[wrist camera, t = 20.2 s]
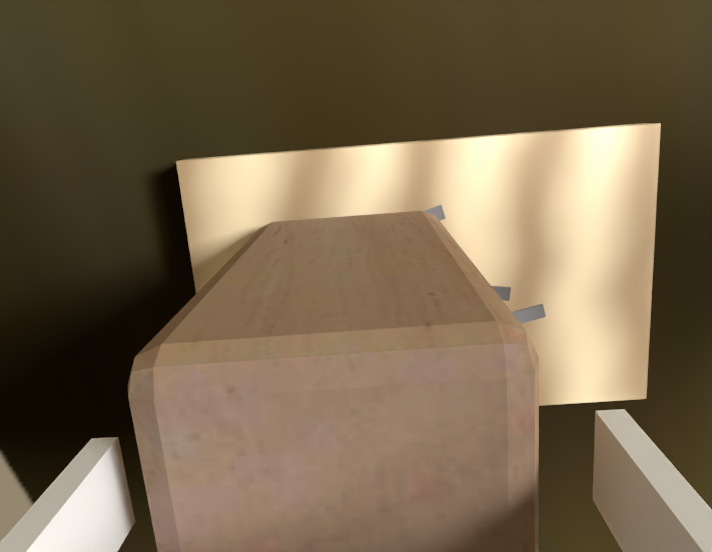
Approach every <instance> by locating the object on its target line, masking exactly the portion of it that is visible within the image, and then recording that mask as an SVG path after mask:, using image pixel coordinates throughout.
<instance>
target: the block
mask: <svg viewBox="0 0 712 552" xmlns="http://www.w3.org/2000/svg"><path fill="white" fill-rule="evenodd" d="M128 398H129V404H130V409H131V414H132V419H133V425H134V430H135V435H136V440H137V446H138V451H139V456H140V461H141V466H142V472H143V477H144V482H145V487H146V493H147V498H148V503H149V508H150V514H151V519H152V524H153V529H154V535H155V540H156V545H157V550H158V552H538V550H539V357H538V355H537V352H536V350H535V348H534V346H533V344H532V342H531V339H530V337H529V335H528V333H527V331H526V329H525V328H524V327H523V326H522V324H521V323H520V322H519V321H518V319H517V318H516V317H515V315H514V314H513V313H512V312H511V310H510V309H509V308H508V307H507V305H506V304H505V303H504V302H503V300H502V299H501V298H500V297H499V295H498V294H497V293H496V291H495V290H494V289H493V288H492V286H491V285H490V284H489V283H488V281H487V280H486V279H485V278H484V276H483V275H482V274H481V273H480V271H479V270H478V269H477V267H476V266H475V265H474V264H473V262H472V261H471V260H470V259H469V257H468V256H467V255H466V254H465V252H464V251H463V250H462V249H461V247H460V246H459V245H458V244H457V242H456V241H455V240H454V238H453V237H452V236H451V235H450V233H449V232H448V231H447V230H446V228H445V227H444V226H443V225H442V223H441V222H440V221H439V220H438V218H437V217H436V216H435V215H433V214H430V213H427V212H424V211H410V212H397V213H384V214H370V215H357V216H344V217H330V218H317V219H303V220H290V221H277V222H271V223H269V224H267V225H265V226H263V227H261V228H260V229H259V230H258V231H257V232H256V233H255V234H254V235H253V236H252V237H251V238H250V239H249V240H248V241H247V242H246V243H245V244H244V245H243V246H242V247H241V248H240V249H239V250H238V251H237V252H236V254H235V255H234V256H233V257H232V258H231V259H230V260H229V261H228V262H227V263H226V264H225V265H224V266H223V267H222V268H221V269H220V270H219V271H218V272H217V273H216V274H215V275H214V276H213V277H212V278H211V279H210V280H209V281H208V282H207V283H206V284H205V285H204V286H203V287H202V289H201V290H200V291H199V292H198V293H197V294H196V295H195V296H194V297H193V298H192V299H191V300H190V301H189V302H188V303H187V304H186V305H185V306H184V307H183V308H182V309H181V310H180V311H179V312H178V313H177V314H176V315H175V316H174V317H173V318H172V319H171V320H170V321H169V322H168V323H167V325H166V326H165V327H164V328H163V329H162V330H161V331H160V332H159V333H158V334H157V335H156V336H155V337H154V338H153V339H152V340H151V341H150V342H149V343H148V344H147V345H146V346H145V347H144V348H143V349H142V350H141V351H140V352H139V353H138V354H137V355H136V356H135V358H134V362H133V366H132V370H131V374H130V378H129V382H128Z"/></svg>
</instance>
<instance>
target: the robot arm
mask: <svg viewBox="0 0 712 552" xmlns="http://www.w3.org/2000/svg"><path fill="white" fill-rule="evenodd" d="M593 501H594V503H595V504H596V506H597V508H598V510H599V511H600V513H601V515H602V517H603V518H604V520H605V522H606V523H607V525H608V527H609V529H610V530H611V532H612V534H613V536H614V537H615V539H616V541H617V543H618V544H619V546H620V548H621V549H622V551H623V552H712V509H711V508H710V507H709V506H708V505H707V504H706V503H705V501H704V500H703V499H702V498H701V497H700V496H699V494H698V493H697V492H696V491H695V490H694V489H693V488H692V486H691V485H690V484H689V483H688V482H687V481H686V480H685V478H684V477H683V476H682V475H681V474H680V473H679V471H678V470H677V469H676V468H675V467H674V466H673V465H672V463H671V462H670V461H669V460H668V459H667V458H666V456H665V455H664V454H663V453H662V452H661V451H660V450H659V448H658V447H657V446H656V445H655V444H654V443H653V442H652V440H651V439H650V438H649V437H648V436H647V435H646V433H645V432H644V431H643V430H642V429H641V428H640V427H639V425H638V424H637V423H636V422H635V421H634V420H633V418H632V417H631V416H630V415H629V414H628V413H627V412H626V410H625V409H617V410H599V411H595V439H594V471H593ZM134 523H135V518H134V513H133V508H132V503H131V498H130V493H129V488H128V483H127V478H126V473H125V468H124V463H123V458H122V453H121V448H120V443H119V438H118V437H110V438H91V440H90V441H89V442H88V443H87V444H86V445H85V446H84V448H83V449H82V450H81V451H80V452H79V453H78V454H77V455H76V457H75V458H74V459H73V460H72V461H71V462H70V463H69V465H68V466H67V467H66V468H65V469H64V470H63V471H62V472H61V474H60V475H59V476H58V477H57V478H56V479H55V480H54V482H53V483H52V484H51V485H50V486H49V487H48V488H47V489H46V491H45V492H44V493H43V494H42V495H41V496H40V497H39V499H38V500H37V501H36V502H35V503H34V504H33V505H32V506H31V508H30V509H29V510H28V511H27V512H26V513H25V515H24V516H23V517H22V518H21V519H20V520H19V521H18V522H17V524H16V525H15V526H14V527H13V528H12V529H11V530H10V531H9V533H8V534H7V535H6V536H5V537H4V538H3V539H2V540H1V542H0V552H118V550H119V548H120V547H121V545H122V543H123V541H124V540H125V538H126V536H127V535H128V533H129V531H130V530H131V528H132V526H133V525H134Z"/></svg>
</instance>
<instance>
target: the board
mask: <svg viewBox="0 0 712 552" xmlns="http://www.w3.org/2000/svg"><path fill="white" fill-rule="evenodd" d="M660 128H661V123H641V124H629V125H616V126H603V127H590V128H577V129H565V130H552V131H539V132H526V133H513V134H501V135H488V136H475V137H462V138H449V139H437V140H424V141H411V142H398V143H385V144H373V145H360V146H347V147H334V148H321V149H309V150H296V151H283V152H270V153H257V154H245V155H232V156H219V157H206V158H193V159H184V160H179V161H176V165H177V171H178V178H179V184H180V191H181V198H182V204H183V211H184V217H185V224H186V231H187V237H188V244H189V250H190V257H191V264H192V270H193V277H194V283H195V290H196V294H197V293H198V292H199V291H200V290H201V289H202V287H203V286H204V285H205V284H206V283H207V282H208V281H209V280H210V279H211V278H212V277H213V276H214V275H215V274H216V273H217V272H218V271H219V270H220V269H221V268H222V267H223V266H224V265H225V264H226V263H227V262H228V261H229V260H230V259H231V258H232V257H233V256H234V255H235V254H236V252H237V251H238V250H239V249H240V248H241V247H242V246H243V245H244V244H245V243H246V242H247V241H248V240H249V239H250V238H251V237H252V236H253V235H254V234H255V233H256V232H257V231H258V230H259V229H260V228H261V227H263V226H265V225H267V224H269V223H271V222H277V221H290V220H303V219H317V218H330V217H344V216H357V215H370V214H384V213H397V212H410V211H424V212H427V213H430V214H433V215H435V216H436V217H437V218H438V220H439V221H440V222H441V223H442V225H443V226H444V227H445V228H446V230H447V231H448V232H449V233H450V235H451V236H452V237H453V238H454V240H455V241H456V242H457V244H458V245H459V246H460V247H461V249H462V250H463V251H464V252H465V254H466V255H467V256H468V257H469V259H470V260H471V261H472V262H473V264H474V265H475V266H476V267H477V269H478V270H479V271H480V273H481V274H482V275H483V276H484V278H485V279H486V280H487V281H488V283H489V284H490V285H491V286H492V288H493V289H494V290H495V291H496V293H497V294H498V295H499V297H500V298H501V299H502V300H503V302H504V303H505V304H506V305H507V307H508V308H509V309H510V310H511V312H512V313H513V314H514V315H515V317H516V318H517V319H518V321H519V322H520V323H521V324H522V326H523V327H524V328H525V329H526V331H527V333H528V335H529V337H530V339H531V342H532V344H533V346H534V348H535V350H536V352H537V355H538V357H539V406H542V405H558V404H573V403H589V402H604V401H620V400H635V399H646V394H647V375H648V356H649V337H650V318H651V299H652V280H653V261H654V242H655V223H656V204H657V185H658V166H659V147H660Z"/></svg>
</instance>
